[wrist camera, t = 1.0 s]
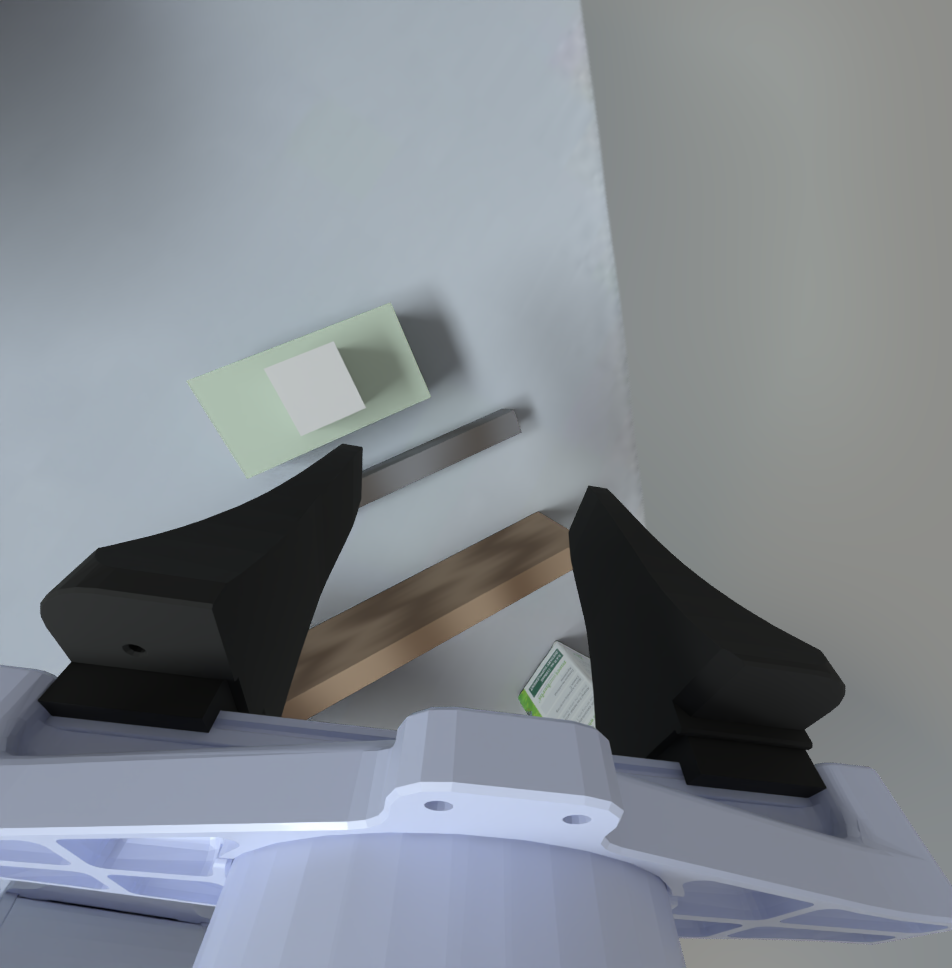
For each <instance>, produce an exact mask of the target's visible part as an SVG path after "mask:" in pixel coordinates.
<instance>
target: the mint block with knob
mask: <svg viewBox="0 0 952 968" xmlns="http://www.w3.org/2000/svg"><path fill="white" fill-rule="evenodd" d="M186 382H187V383H188V385H189V386H190V388H191V390H192V391H193V393H194V394H195V396H196V398H197V399H198V401H199V402H200V404H201V406H202V407H203V409H204V410H205V412H206V414H207V415H208V417H209V418H210V420H211V422H212V423H213V425H214V426H215V428H216V430H217V431H218V433H219V434H220V436H221V438H222V439H223V441H224V442H225V444H226V446H227V447H228V449H229V450H230V452H231V454H232V455H233V457H234V458H235V460H236V462H237V463H238V465H239V466H240V468H241V470H242V471H243V473H244V474H245V476H246V478H247V479H248V478H251V477H253V476H255V475H257V474H260V473H262V472H264V471H266V470H269V469H271V468H273V467H275V466H278V465H280V464H282V463H284V462H287V461H289V460H291V459H293V458H296V457H298V456H300V455H302V454H305V453H307V452H309V451H311V450H313V449H316V448H318V447H320V446H322V445H325V444H327V443H329V442H331V441H334V440H336V439H338V438H340V437H343V436H345V435H347V434H349V433H352V432H354V431H356V430H358V429H361V428H363V427H365V426H367V425H370V424H372V423H374V422H376V421H379V420H381V419H383V418H385V417H388V416H390V415H392V414H394V413H397V412H399V411H401V410H403V409H406V408H408V407H410V406H412V405H414V404H417V403H419V402H421V401H423V400H426V399H428V398H430V397H431V396H430V393H429V391H428V389H427V386H426V384H425V381H424V379H423V377H422V374H421V372H420V370H419V367H418V365H417V363H416V360H415V358H414V356H413V353H412V351H411V349H410V346H409V344H408V342H407V339H406V337H405V335H404V332H403V330H402V328H401V325H400V323H399V321H398V318H397V316H396V314H395V311H394V309H393V307H392V304H391V303H388V304H385V305H383V306H380V307H378V308H375V309H372V310H370V311H367V312H365V313H362V314H359V315H357V316H354V317H352V318H349V319H346V320H344V321H341V322H339V323H336V324H333V325H331V326H328V327H326V328H323V329H320V330H318V331H315V332H313V333H310V334H307V335H305V336H302V337H300V338H297V339H294V340H292V341H289V342H287V343H284V344H281V345H279V346H276V347H274V348H271V349H268V350H266V351H263V352H261V353H258V354H255V355H253V356H250V357H248V358H245V359H242V360H240V361H237V362H235V363H232V364H229V365H227V366H224V367H222V368H219V369H216V370H214V371H211V372H209V373H206V374H203V375H201V376H198V377H196V378H193V379H190V380H188V381H186Z"/></svg>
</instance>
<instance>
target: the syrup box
mask: <svg viewBox="0 0 952 968" xmlns="http://www.w3.org/2000/svg"><path fill="white" fill-rule="evenodd" d="M518 699H519V701H520V703H521V704H522V706H523V708H524V709H525V711H526V713H527V714H528V715H529V716H537V717H546V718H554V719H562V720H571V721H575V722H579V723H582V724H586V725H590V726H593V727H594V728H595V729H596V727H595V712H594V696H593V684H592V673H591V663H590V658H588V657H586V656H584V655H582V654H580V653H579V652H577V651H575V650H573V649H571V648H569V647H568V646H566V645H564V644H562V643H560V642H558V641H555V642H554V644H553V645H552V649H551V650H550V652H549V653H548V655H547V656H546V657H545V659H544V660H543V661H542V663H541V664H540V666H539V667H538V669H537V670H536V672H535V673H534V675H533V676H532V678H531V679H530V680H529V682H528V683H527V685H526V686H525V688H524V690H523V691H522V692H521V693H520V695H519V697H518Z"/></svg>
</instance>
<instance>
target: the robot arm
mask: <svg viewBox="0 0 952 968" xmlns="http://www.w3.org/2000/svg"><path fill="white" fill-rule="evenodd" d="M362 453H363V447H359V446H353V445H347V444H341V445H340V446H339V447H337V448H336V449H334V450H333V451H331V452H330V453H328V454H327V455H326V456H324V457H323V458H321V459H320V460H318V461H317V462H316V463H314V464H313V465H311V466H310V467H308V468H307V469H305V470H304V471H302V472H301V473H299V474H298V475H296V476H295V477H293V478H291V479H289V480H288V481H286V482H284V483H283V484H281V485H279V486H278V487H276V488H274V489H273V490H271V491H269V492H267V493H265V494H263V495H261V496H259V497H257V498H255V499H253V500H251V501H248V502H246V503H244V504H242V505H240V506H237V507H235V508H233V509H230V510H227V511H225V512H222V513H220V514H217V515H215V516H212V517H209V518H207V519H204V520H201V521H199V522H196V523H192V524H189V525H186V526H183V527H180V528H177V529H173V530H170V531H167V532H163V533H160V534H156V535H152V536H148V537H144V538H140V539H136V540H132V541H127V542H123V543H119V544H115V545H111V546H106V547H101V548H98V549H97V550H96V551H94V552H93V553H92V554H91V555H90V556H89V557H88V558H87V559H85V560H84V561H83V562H82V563H81V564H80V565H79V566H78V567H77V568H76V569H74V570H73V571H72V572H71V573H70V574H69V575H68V576H67V577H66V578H65V579H63V580H62V581H61V582H60V583H59V584H58V585H57V586H56V587H55V588H54V589H52V590H51V591H50V592H49V593H48V594H47V595H46V596H45V598H44V599H43V600H42V602H41V603H40V614H41V618H42V620H43V622H44V624H45V625H46V627H47V629H48V630H49V632H50V633H51V634H52V636H53V637H54V638H55V640H56V641H57V643H58V644H59V645H60V647H61V648H62V649H63V651H64V652H65V653H66V655H67V656H68V658H69V659H70V660H71V663H70V664H69V665H68V666H67V668H66V669H65V670H64V671H63V672H62V673H61V674H60V675H59V677H58V678H57V677H56V676H55V675H53V674H50V673H48V672H46V671H42V670H37V669H30V668H22V667H13V666H5V665H0V968H686V965H685V961H684V957H683V953H682V949H681V945H680V941H679V938H703V939H704V938H705V939H762V940H799V941H822V942H840V943H855V944H869V945H873V944H879V943H885V942H890V941H896V940H901V939H907V938H912V937H918V936H923V935H929V934H934V933H940V932H945V931H950V930H952V885H951V883H950V882H949V881H948V879H947V877H946V876H945V875H944V873H943V871H942V870H941V868H940V867H939V865H938V864H937V862H936V861H935V859H934V858H933V856H932V855H931V853H930V852H929V850H928V849H927V847H926V846H925V844H924V843H923V842H922V840H921V838H920V837H919V835H918V834H917V832H916V831H915V829H914V828H913V826H912V825H911V823H910V822H909V820H908V819H907V817H906V816H905V814H904V813H903V811H902V810H901V808H900V807H899V805H898V803H897V802H896V800H895V799H894V798H893V796H892V794H891V793H890V791H889V790H888V788H887V787H886V785H885V784H884V782H883V781H882V780H881V778H880V776H879V775H878V773H877V772H876V771H875V769H872V768H870V767H866V766H858V765H849V764H841V763H819V764H815V765H813V763H812V761H811V759H810V758H809V755H808V754H807V752H806V750H809V749H811V748H812V742H811V740H810V738H809V736H808V735H807V733H806V731H805V730H804V729H806V728H807V727H809V726H810V725H812V724H813V723H815V722H816V721H818V720H819V719H820V718H822V717H823V716H825V715H826V714H828V713H829V712H831V711H832V710H833V709H834V708H836V707H837V706H838V705H839V704H840V702H841V701H842V699H843V697H844V695H845V684H844V683H843V682H842V680H841V679H840V677H839V676H838V674H837V673H836V672H835V670H834V669H833V667H832V666H831V664H830V663H829V661H828V660H827V658H826V657H825V656H824V654H823V653H822V652H821V651H820V650H819V649H817V648H815V647H813V646H811V645H809V644H807V643H805V642H803V641H801V640H800V639H798V638H796V637H794V636H792V635H790V634H788V633H786V632H784V631H783V630H781V629H779V628H777V627H775V626H773V625H771V624H770V623H768V622H767V621H765V620H763V619H762V618H760V617H758V616H757V615H755V614H753V613H752V612H750V611H748V610H747V609H745V608H743V607H742V606H741V605H739V604H737V603H736V602H734V601H733V600H731V599H730V598H728V597H727V596H726V595H724V594H723V593H721V592H720V591H718V590H717V589H715V588H714V587H713V586H711V585H710V584H709V583H707V582H706V581H704V580H703V579H702V578H701V577H699V576H698V575H697V574H696V573H694V572H693V571H692V570H691V569H689V568H688V567H687V566H685V565H684V564H683V563H682V562H681V561H680V560H678V559H677V558H676V557H675V556H674V555H673V554H671V553H670V552H669V551H668V550H667V549H666V548H665V547H664V546H663V545H662V544H661V543H660V542H659V541H658V540H657V539H656V538H655V537H654V536H652V535H651V534H650V533H649V531H648V530H647V529H646V528H645V527H644V526H643V525H642V524H641V523H640V522H639V521H638V520H637V519H636V518H635V517H634V516H633V515H632V514H631V513H630V512H629V511H628V510H627V508H626V507H625V506H624V505H623V504H622V503H621V502H620V501H619V500H618V499H617V498H616V497H615V496H614V495H613V494H612V493H611V492H610V491H609V490H608V489H605V488H600V487H594V486H588V488H587V490H586V493H585V495H584V497H583V500H582V502H581V504H580V507H579V509H578V511H577V513H576V516H575V518H574V520H573V523H572V525H571V527H570V530H569V532H568V533H569V548H570V558H571V563H572V568H573V573H574V577H575V581H576V586H577V590H578V594H579V598H580V603H581V607H582V611H583V615H584V620H585V625H586V630H587V637H588V646H589V654H590V663H591V673H592V684H593V696H594V712H595V727H596V729H595V728H594V727H593V726H590V725H586V724H582V723H579V722H575V721H571V720H562V719H554V718H546V717H537V716H529V715H521V714H512V713H504V712H496V711H487V710H479V709H470V708H462V707H430V708H427V709H424V710H421V711H418V712H415V713H412V714H411V715H409V716H408V717H407V718H406V719H405V720H404V721H403V723H402V724H401V725H400V726H399V727H398V730H388V729H379V728H371V727H362V726H353V725H344V724H335V723H326V722H318V721H309V720H300V719H291V718H282V717H281V716H282V713H283V710H284V706H285V703H286V699H287V696H288V692H289V689H290V686H291V683H292V680H293V676H294V673H295V670H296V667H297V664H298V660H299V657H300V654H301V651H302V648H303V645H304V642H305V639H306V636H307V633H308V630H309V627H310V624H311V621H312V618H313V615H314V613H315V610H316V607H317V604H318V601H319V598H320V596H321V593H322V591H323V588H324V586H325V584H326V581H327V579H328V577H329V575H330V573H331V571H332V569H333V567H334V565H335V563H336V561H337V558H338V556H339V554H340V552H341V550H342V548H343V546H344V544H345V542H346V540H347V537H348V535H349V533H350V531H351V529H352V527H353V524H354V521H355V518H356V515H357V512H358V509H359V505H360V502H361V495H362Z"/></svg>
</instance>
